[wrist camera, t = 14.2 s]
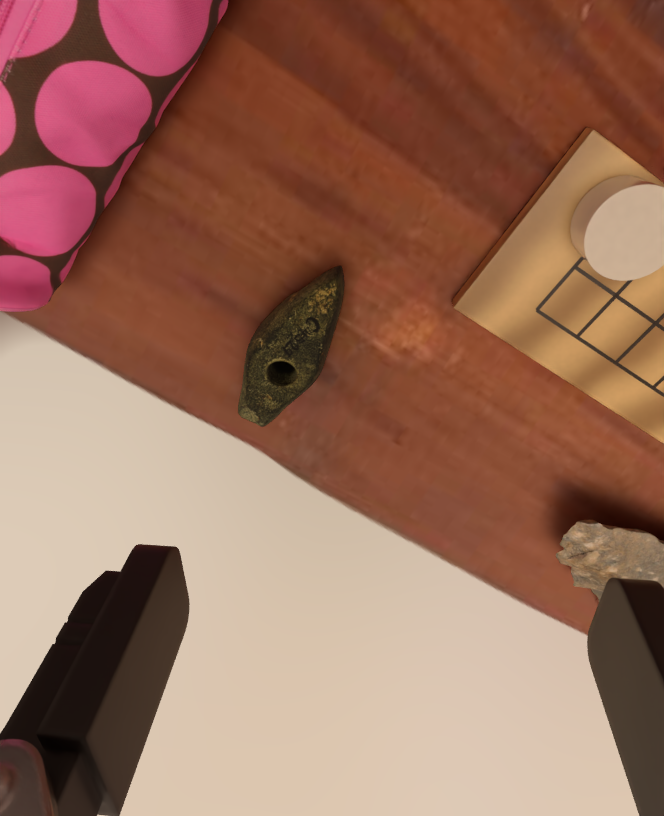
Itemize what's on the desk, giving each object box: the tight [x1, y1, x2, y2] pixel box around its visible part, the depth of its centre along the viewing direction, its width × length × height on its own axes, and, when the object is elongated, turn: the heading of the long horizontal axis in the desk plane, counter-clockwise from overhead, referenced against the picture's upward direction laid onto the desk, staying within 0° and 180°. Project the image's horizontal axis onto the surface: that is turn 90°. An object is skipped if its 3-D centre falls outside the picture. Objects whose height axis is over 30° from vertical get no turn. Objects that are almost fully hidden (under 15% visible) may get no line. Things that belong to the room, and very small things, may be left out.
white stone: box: [570, 175, 664, 281], centre depth 28 cm, size 5×5×3 cm
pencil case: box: [0, 0, 229, 312], centre depth 26 cm, size 21×10×10 cm, turn 142°
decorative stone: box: [238, 266, 344, 427], centre depth 34 cm, size 12×5×4 cm, turn 165°
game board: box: [452, 127, 664, 444], centre depth 33 cm, size 20×11×1 cm, turn 59°
